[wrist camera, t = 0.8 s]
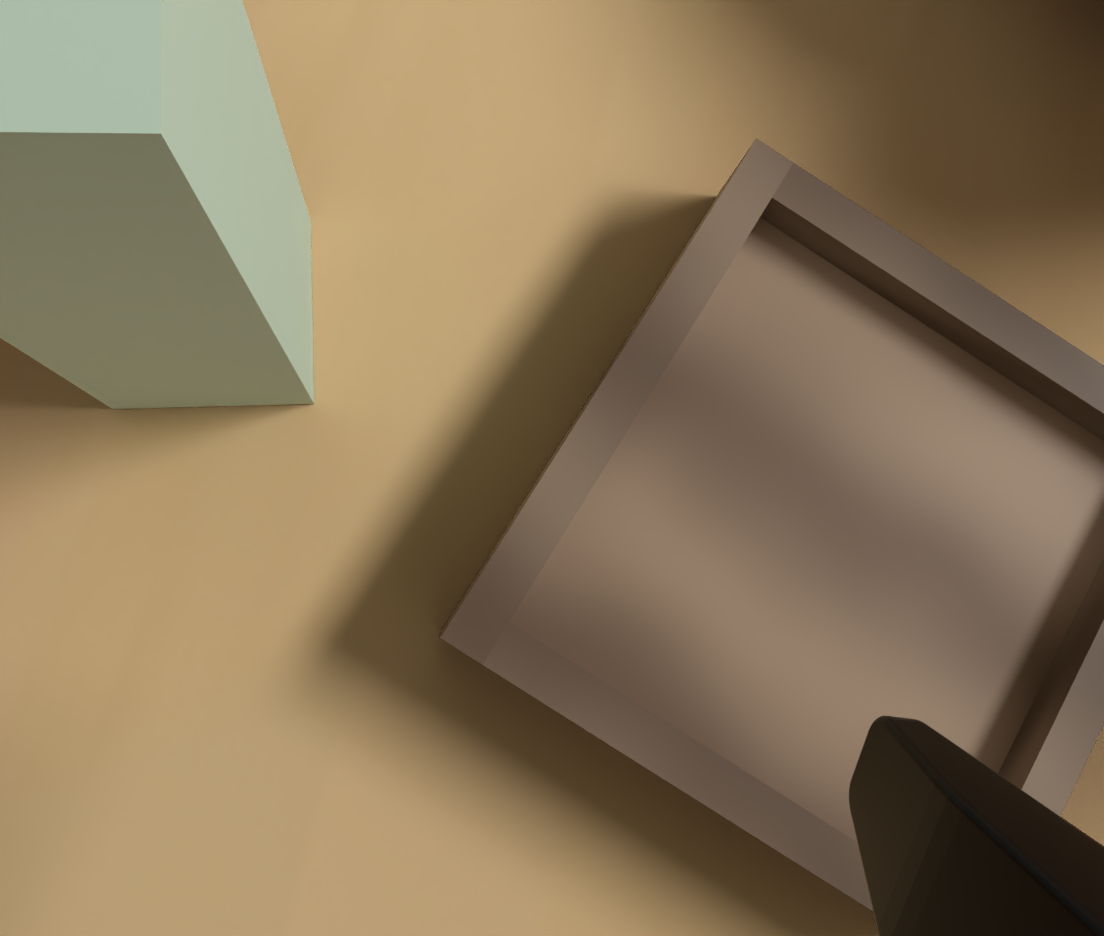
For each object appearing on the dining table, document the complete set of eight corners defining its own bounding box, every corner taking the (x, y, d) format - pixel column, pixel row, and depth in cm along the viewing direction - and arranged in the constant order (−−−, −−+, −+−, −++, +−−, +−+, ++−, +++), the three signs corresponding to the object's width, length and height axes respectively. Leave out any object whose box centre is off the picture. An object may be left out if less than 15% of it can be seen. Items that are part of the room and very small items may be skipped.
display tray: (910, 932, 22) (983, 980, 19) (438, 634, 22) (439, 637, 19) (1138, 469, 25) (1233, 450, 22) (717, 194, 25) (756, 138, 22)
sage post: (313, 403, 23) (161, 133, 10) (112, 408, 22) (-331, 128, 9) (310, 221, 23) (163, -257, 10) (114, 221, 23) (-298, -285, 10)
